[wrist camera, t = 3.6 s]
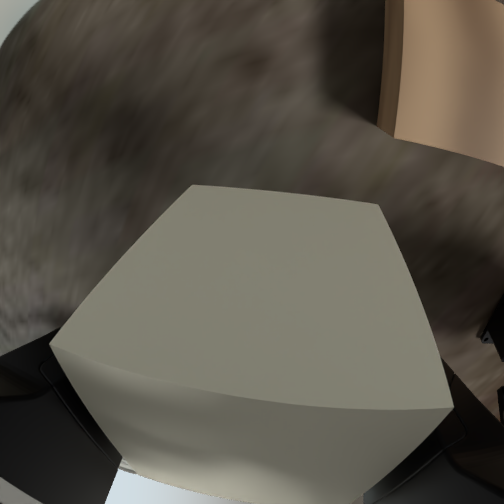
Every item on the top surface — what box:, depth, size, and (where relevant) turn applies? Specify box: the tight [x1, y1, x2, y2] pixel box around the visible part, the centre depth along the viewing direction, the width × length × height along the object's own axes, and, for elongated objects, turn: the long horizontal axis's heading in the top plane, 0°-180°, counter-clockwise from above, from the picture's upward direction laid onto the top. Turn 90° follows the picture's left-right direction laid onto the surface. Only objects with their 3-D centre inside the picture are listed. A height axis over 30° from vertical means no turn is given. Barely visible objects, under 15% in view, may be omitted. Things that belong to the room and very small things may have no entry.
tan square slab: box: [377, 0, 504, 167], centre depth 12 cm, size 9×9×4 cm
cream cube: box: [49, 185, 454, 504], centre depth 7 cm, size 5×5×6 cm
